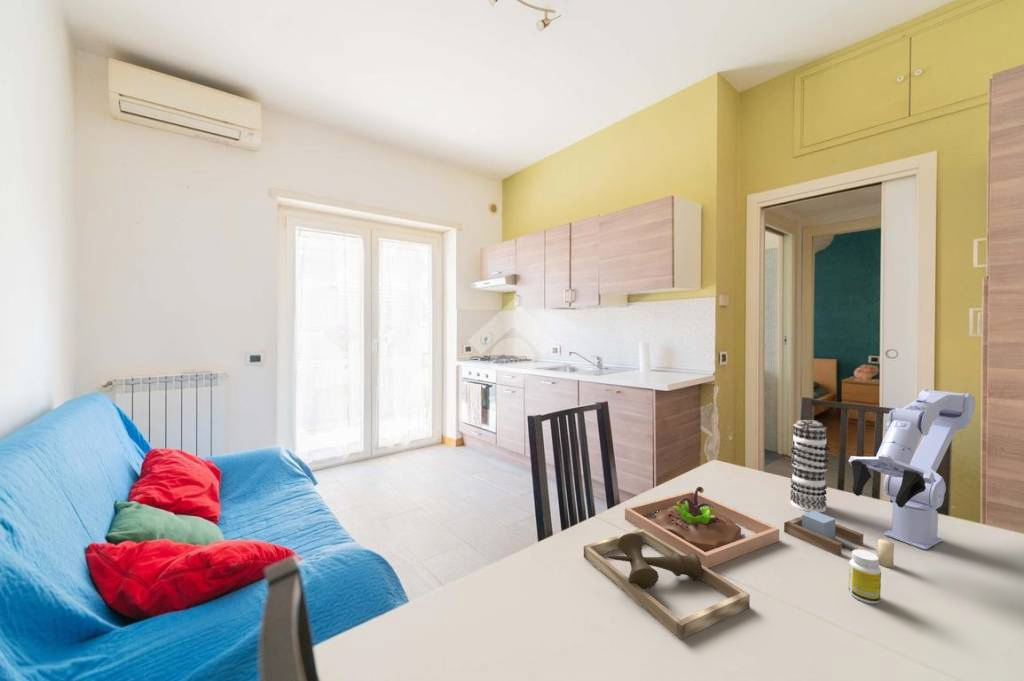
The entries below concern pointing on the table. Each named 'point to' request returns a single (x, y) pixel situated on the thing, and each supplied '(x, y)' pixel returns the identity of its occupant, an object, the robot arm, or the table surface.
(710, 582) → the beech serving tray
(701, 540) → the plant
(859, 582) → the supplement bottle
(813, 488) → the decorative candle
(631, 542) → the kendama
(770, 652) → the table surface
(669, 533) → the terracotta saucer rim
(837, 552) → the walnut lane
